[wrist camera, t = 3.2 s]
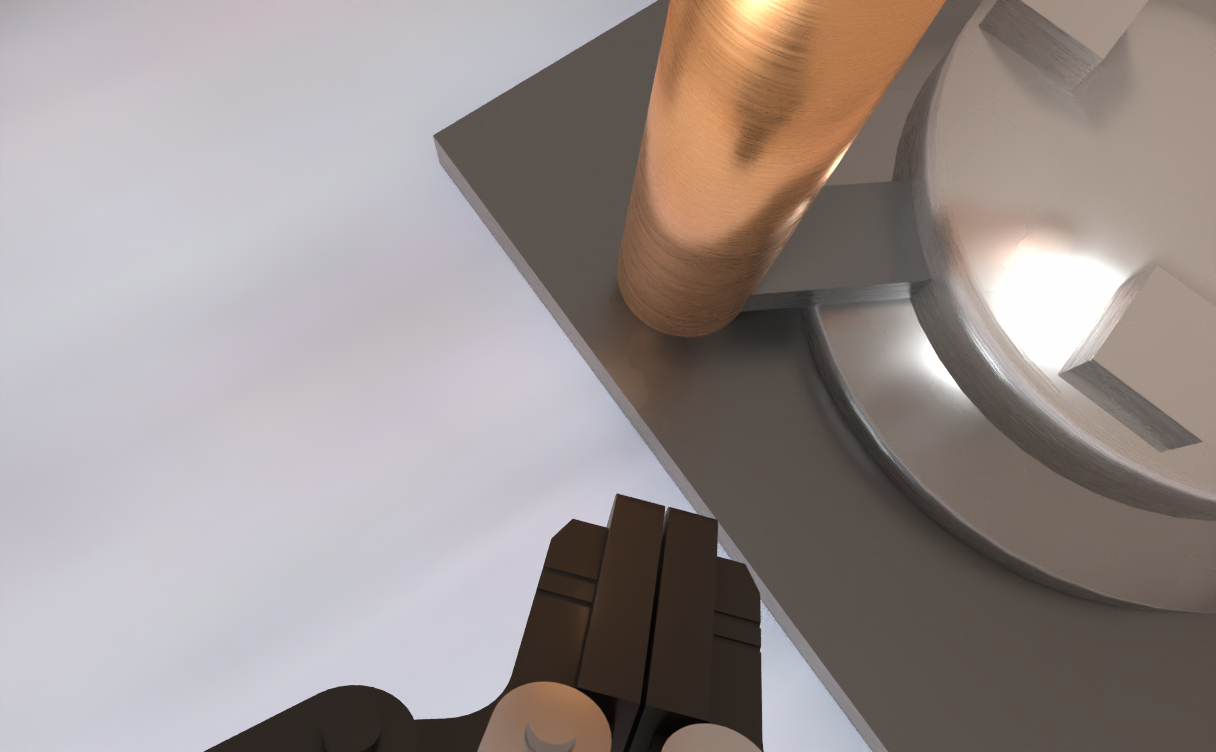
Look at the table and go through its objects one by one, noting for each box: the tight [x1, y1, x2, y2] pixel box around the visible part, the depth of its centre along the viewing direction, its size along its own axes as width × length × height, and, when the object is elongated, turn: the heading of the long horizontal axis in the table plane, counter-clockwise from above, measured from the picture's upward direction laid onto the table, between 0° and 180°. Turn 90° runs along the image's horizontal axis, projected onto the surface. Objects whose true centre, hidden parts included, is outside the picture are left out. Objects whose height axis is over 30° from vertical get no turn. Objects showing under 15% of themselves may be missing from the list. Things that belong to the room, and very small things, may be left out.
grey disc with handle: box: [617, 0, 1216, 521], centre depth 16 cm, size 21×14×12 cm
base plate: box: [433, 0, 1216, 752], centre depth 24 cm, size 26×26×3 cm
